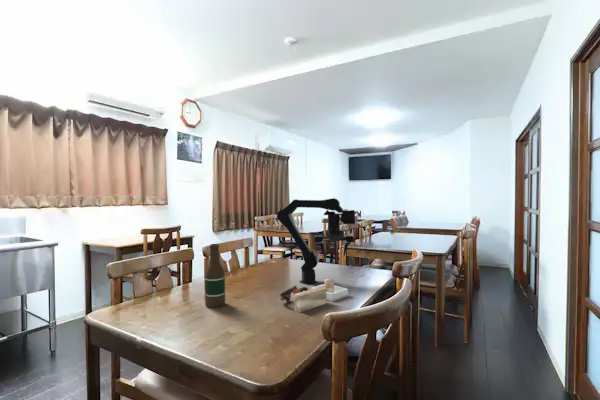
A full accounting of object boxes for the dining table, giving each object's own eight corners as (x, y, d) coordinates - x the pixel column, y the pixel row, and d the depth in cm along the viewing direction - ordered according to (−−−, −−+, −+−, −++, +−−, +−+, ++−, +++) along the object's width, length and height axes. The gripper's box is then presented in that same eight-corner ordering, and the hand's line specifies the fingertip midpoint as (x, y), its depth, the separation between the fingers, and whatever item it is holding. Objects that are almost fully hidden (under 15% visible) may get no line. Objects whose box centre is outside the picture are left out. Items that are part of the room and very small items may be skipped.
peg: (322, 294, 133) (322, 280, 133) (329, 292, 135) (329, 278, 135) (329, 296, 130) (329, 281, 130) (336, 294, 132) (335, 280, 132)
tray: (311, 294, 134) (311, 287, 134) (327, 289, 140) (327, 283, 140) (331, 301, 125) (331, 294, 125) (348, 296, 131) (348, 289, 131)
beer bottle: (229, 302, 126) (228, 243, 125) (218, 309, 118) (217, 246, 118) (212, 300, 128) (211, 242, 128) (201, 307, 121) (199, 245, 120)
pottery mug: (293, 312, 115) (283, 292, 117) (283, 316, 123) (274, 297, 124) (317, 297, 122) (307, 278, 124) (306, 302, 129) (297, 284, 131)
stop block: (294, 310, 116) (294, 294, 116) (321, 301, 125) (320, 286, 125) (299, 312, 114) (299, 296, 114) (326, 303, 123) (326, 288, 123)
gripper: (314, 226, 143) (314, 260, 143) (355, 225, 142) (355, 260, 142) (314, 223, 154) (315, 255, 154) (352, 223, 153) (353, 255, 153)
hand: (334, 256), depth 151 cm, fingers open, 9 cm apart
